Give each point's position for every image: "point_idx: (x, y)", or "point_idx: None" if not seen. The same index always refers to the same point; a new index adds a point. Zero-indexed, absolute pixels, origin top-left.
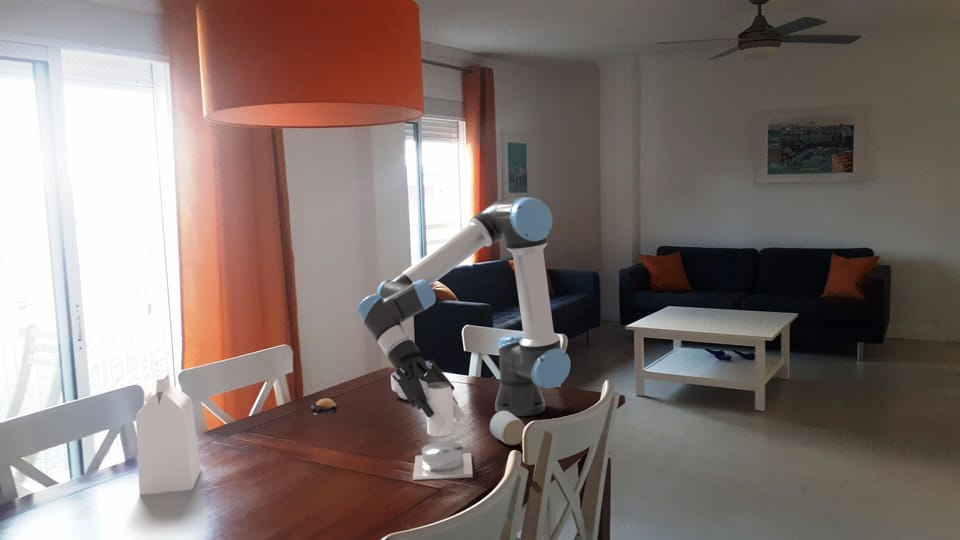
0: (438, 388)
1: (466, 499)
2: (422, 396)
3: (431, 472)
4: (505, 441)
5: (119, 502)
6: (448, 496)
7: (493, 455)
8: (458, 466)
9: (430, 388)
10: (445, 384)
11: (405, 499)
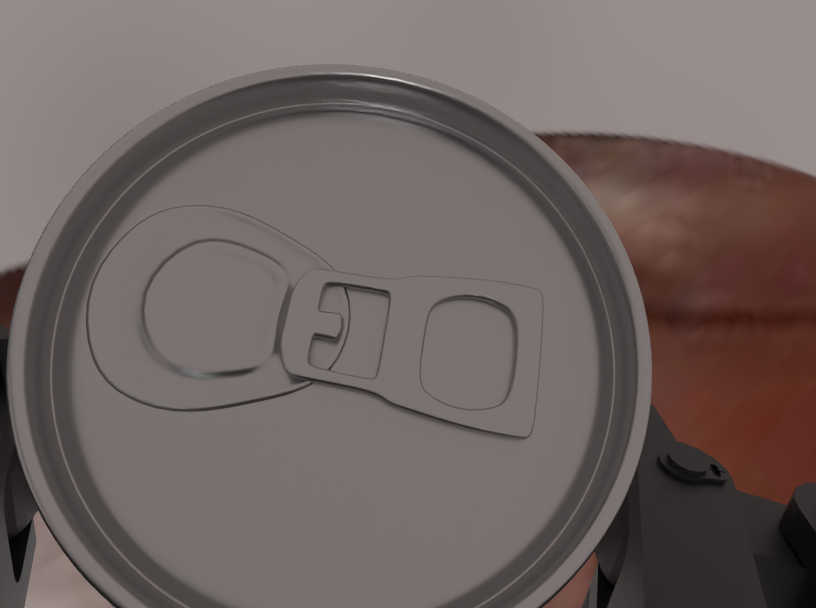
0: (583, 189)
1: (599, 157)
2: (727, 527)
3: None
4: None
5: None
6: (620, 239)
7: (9, 311)
8: None
9: (632, 400)
10: (111, 288)
11: (764, 398)
